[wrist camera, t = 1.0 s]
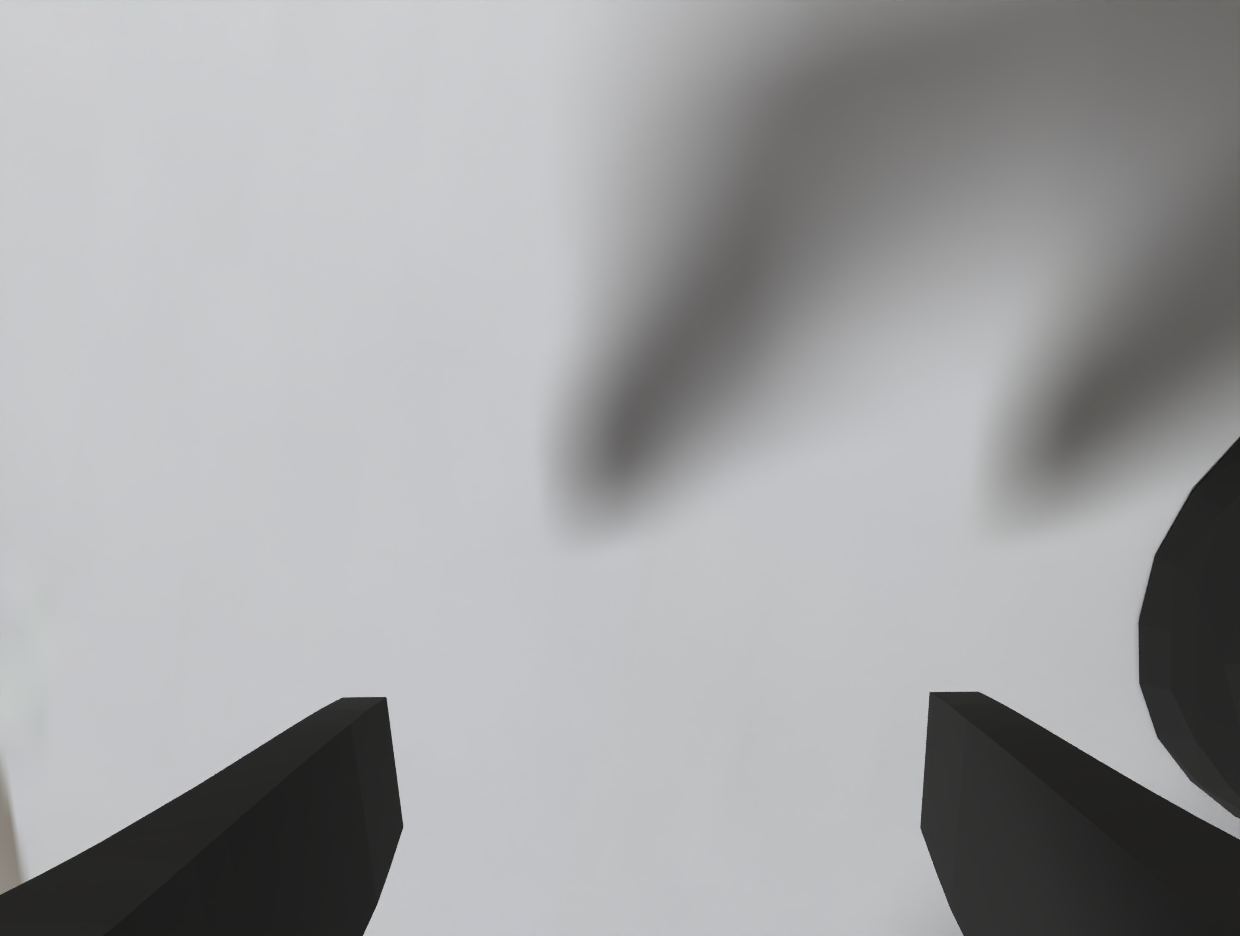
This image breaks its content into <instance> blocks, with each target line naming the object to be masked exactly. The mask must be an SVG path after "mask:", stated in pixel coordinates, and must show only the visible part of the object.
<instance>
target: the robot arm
mask: <svg viewBox="0 0 1240 936" xmlns="http://www.w3.org/2000/svg"><path fill="white" fill-rule="evenodd" d="M920 828H921V831H922V834H923V836H924V839H925V842H926V845H927V847H928V850H929V853H930V856H931V859H932V861H933V864H934V867H935V870H936V873H937V875H938V878H939V880H940V883H941V885H942V888H943V891H944V893H945V896H946V898H947V901H948V903H949V906H950V909H951V911H952V913H953V915H954V917H955V919H956V921H957V923H958V925H959V927H960V929H961V931H962V933H963V935H964V936H1240V840H1239V839H1237V838H1236V837H1234V836H1232V835H1230V834H1228V833H1226V832H1224V831H1222V830H1221V829H1219V828H1217V827H1215V826H1213V825H1211V824H1209V823H1207V822H1206V821H1204V820H1202V819H1200V818H1198V817H1196V816H1194V815H1193V814H1191V813H1189V812H1187V811H1185V810H1184V809H1182V808H1180V807H1178V806H1177V805H1175V804H1173V803H1171V802H1169V801H1168V800H1166V799H1164V798H1162V797H1161V796H1159V795H1157V794H1155V793H1153V792H1152V791H1150V790H1148V789H1147V788H1145V787H1143V786H1141V785H1140V784H1138V783H1136V782H1134V781H1133V780H1131V779H1129V778H1127V777H1126V776H1124V775H1122V774H1121V773H1119V772H1117V771H1116V770H1114V769H1112V768H1110V767H1109V766H1107V765H1105V764H1104V763H1102V762H1100V761H1098V760H1097V759H1095V758H1093V757H1092V756H1090V755H1088V754H1087V753H1085V752H1083V751H1082V750H1080V749H1078V748H1077V747H1075V746H1073V745H1072V744H1070V743H1068V742H1067V741H1065V740H1063V739H1062V738H1060V737H1058V736H1056V735H1055V734H1053V733H1051V732H1050V731H1048V730H1046V729H1045V728H1043V727H1041V726H1040V725H1038V724H1036V723H1035V722H1033V721H1031V720H1029V719H1028V718H1026V717H1024V716H1023V715H1021V714H1019V713H1017V712H1016V711H1014V710H1012V709H1010V708H1009V707H1007V706H1005V705H1003V704H1001V703H1000V702H998V701H996V700H994V699H992V698H990V697H988V696H986V695H984V694H982V693H980V692H930V696H929V711H928V725H927V740H926V754H925V769H924V784H923V798H922V813H921V827H920ZM402 829H403V821H402V813H401V805H400V798H399V790H398V783H397V775H396V767H395V760H394V752H393V744H392V737H391V729H390V721H389V714H388V706H387V698H386V697H351V698H341V699H339V700H337V701H335V702H333V703H331V704H329V705H327V706H326V707H324V708H322V709H320V710H318V711H317V712H315V713H313V714H312V715H310V716H308V717H307V718H305V719H303V720H302V721H300V722H298V723H297V724H295V725H294V726H292V727H290V728H289V729H287V730H285V731H284V732H282V733H281V734H279V735H277V736H276V737H274V738H273V739H271V740H270V741H268V742H266V743H265V744H263V745H262V746H260V747H258V748H257V749H255V750H254V751H252V752H250V753H249V754H247V755H246V756H244V757H242V758H241V759H239V760H238V761H236V762H234V763H233V764H231V765H230V766H228V767H226V768H225V769H223V770H222V771H220V772H218V773H217V774H215V775H214V776H212V777H210V778H209V779H207V780H206V781H204V782H202V783H201V784H199V785H198V786H196V787H194V788H193V789H191V790H189V791H187V792H186V793H184V794H182V795H181V796H179V797H177V798H176V799H174V800H172V801H170V802H169V803H167V804H165V805H164V806H162V807H160V808H158V809H157V810H155V811H153V812H152V813H150V814H148V815H146V816H145V817H143V818H141V819H140V820H138V821H136V822H134V823H133V824H131V825H129V826H128V827H126V828H124V829H123V830H121V831H119V832H117V833H116V834H114V835H112V836H111V837H109V838H107V839H105V840H104V841H102V842H100V843H98V844H97V845H95V846H93V847H91V848H89V849H87V850H86V851H84V852H82V853H80V854H78V855H77V856H75V857H73V858H71V859H69V860H67V861H65V862H63V863H62V864H60V865H58V866H56V867H54V868H52V869H50V870H48V871H46V872H45V873H43V874H41V875H39V876H37V877H35V878H33V879H31V880H29V881H27V882H25V883H23V884H21V885H19V886H17V887H15V888H13V889H11V890H9V891H7V892H5V893H3V894H1V895H0V936H363V934H364V932H365V930H366V928H367V925H368V923H369V921H370V919H371V917H372V915H373V912H374V910H375V908H376V906H377V903H378V901H379V898H380V895H381V892H382V889H383V886H384V884H385V881H386V878H387V875H388V872H389V869H390V866H391V863H392V860H393V857H394V854H395V851H396V848H397V845H398V842H399V839H400V835H401V832H402Z"/></svg>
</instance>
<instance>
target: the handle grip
mask: <svg viewBox="0 0 1240 936" xmlns="http://www.w3.org/2000/svg"><path fill="white" fill-rule="evenodd" d="M1139 684H1140V687H1141V690H1142V693H1143V696H1144V699H1145V701H1146V704H1147V707H1148V710H1149V713H1150V716H1151V719H1152V722H1153V725H1154V728H1155V731H1156V734H1157V737H1158V739H1159V740H1160V741H1161V743H1162V744H1163V745H1164V747H1165V748H1166V749H1167V751H1168V752H1169V753H1170V755H1171V756H1172V757H1173V758H1174V760H1175V761H1176V762H1177V764H1178V765H1179V766H1180V768H1181V769H1182V770H1183V771H1184V773H1185V774H1186V775H1187V777H1188V778H1189V779H1190V781H1192V782H1193V783H1194V784H1195V785H1197V786H1198V787H1199V788H1200V789H1202V790H1203V791H1204V792H1205V793H1207V794H1208V795H1209V796H1210V797H1212V798H1213V799H1214V800H1215V801H1217V802H1218V803H1219V804H1220V805H1222V806H1223V807H1224V808H1225V809H1227V810H1228V811H1229V812H1230V813H1232V814H1233V815H1234V816H1235V817H1237V818H1240V439H1239V440H1238V442H1237V443H1236V444H1235V445H1234V446H1233V447H1232V448H1231V449H1230V451H1229V452H1228V453H1227V454H1226V455H1225V456H1224V457H1223V458H1222V460H1221V461H1220V462H1219V463H1218V464H1217V465H1216V466H1215V467H1214V469H1213V470H1212V471H1211V472H1210V473H1209V474H1208V475H1207V476H1206V478H1205V479H1204V480H1203V481H1202V482H1201V483H1200V484H1199V485H1198V487H1197V488H1196V489H1195V490H1194V491H1193V492H1192V494H1191V495H1190V497H1189V499H1188V501H1187V502H1186V504H1185V506H1184V507H1183V509H1182V511H1181V513H1180V514H1179V516H1178V518H1177V519H1176V521H1175V523H1174V525H1173V526H1172V528H1171V530H1170V532H1169V533H1168V535H1167V537H1166V538H1165V540H1164V542H1163V544H1162V545H1161V547H1160V549H1159V550H1158V552H1157V554H1156V556H1155V558H1154V562H1153V566H1152V570H1151V574H1150V578H1149V582H1148V587H1147V591H1146V595H1145V599H1144V603H1143V607H1142V611H1141V615H1140V619H1139Z"/></svg>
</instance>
